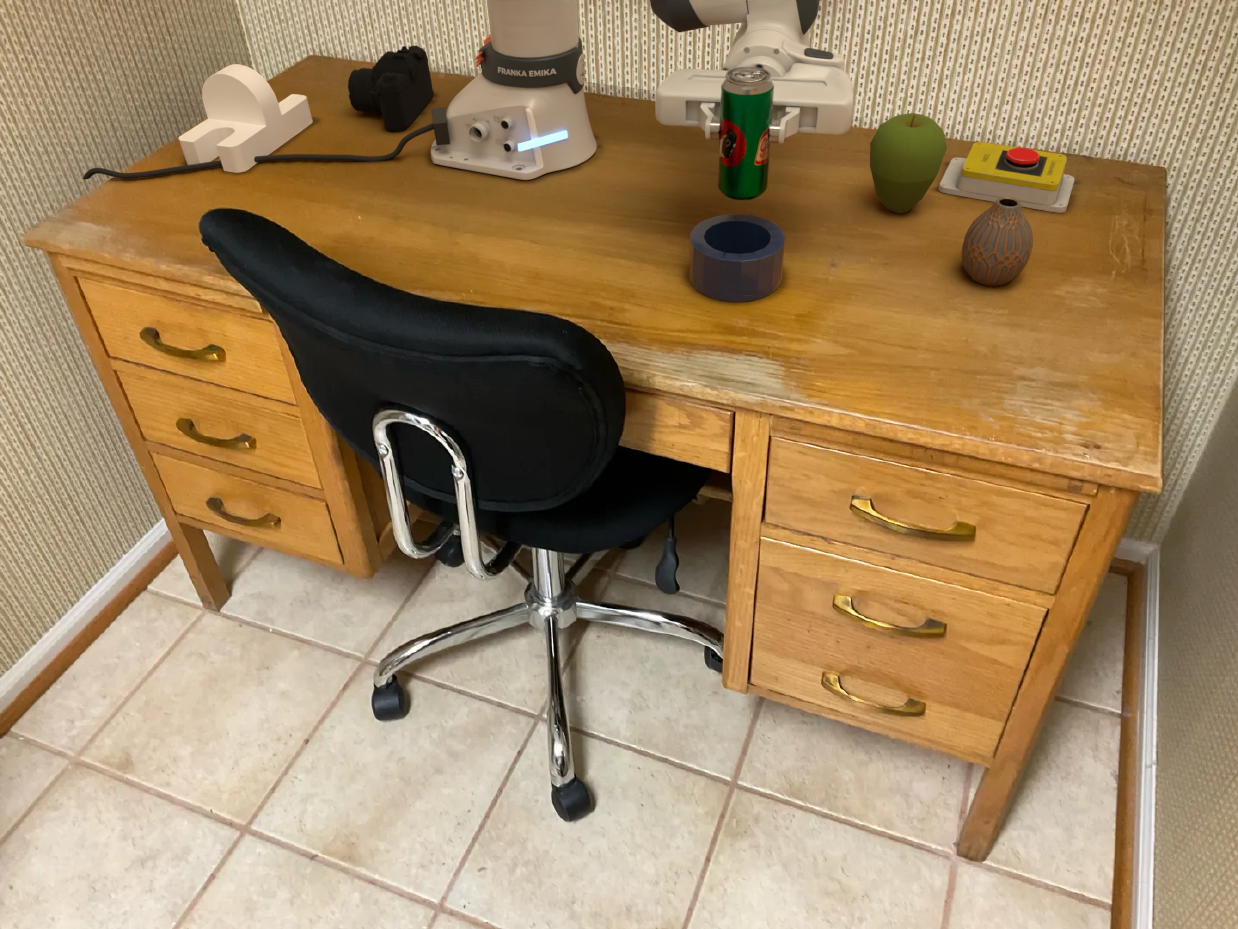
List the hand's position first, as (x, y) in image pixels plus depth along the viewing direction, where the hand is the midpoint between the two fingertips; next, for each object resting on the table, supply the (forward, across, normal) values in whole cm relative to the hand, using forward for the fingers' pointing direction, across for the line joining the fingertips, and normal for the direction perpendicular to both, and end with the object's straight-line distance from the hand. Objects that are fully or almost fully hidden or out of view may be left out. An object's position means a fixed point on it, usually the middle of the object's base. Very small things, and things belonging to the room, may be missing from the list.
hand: (744, 134), depth 96 cm
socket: (0, 0, +16) cm, 16 cm away
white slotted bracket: (-24, -72, +16) cm, 78 cm away
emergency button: (-27, +30, +17) cm, 44 cm away
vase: (-5, +27, +17) cm, 32 cm away
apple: (-19, +17, +17) cm, 31 cm away
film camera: (-37, -56, +16) cm, 69 cm away
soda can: (-1, 0, +7) cm, 7 cm away
